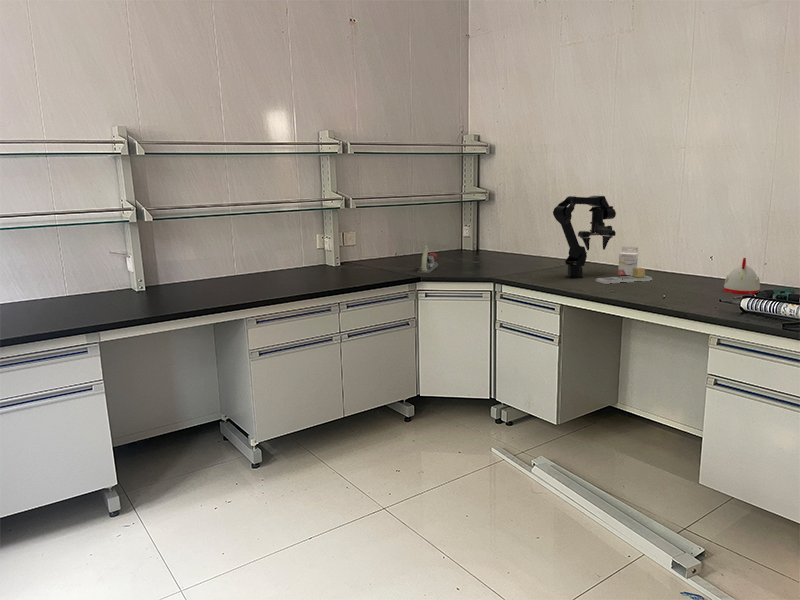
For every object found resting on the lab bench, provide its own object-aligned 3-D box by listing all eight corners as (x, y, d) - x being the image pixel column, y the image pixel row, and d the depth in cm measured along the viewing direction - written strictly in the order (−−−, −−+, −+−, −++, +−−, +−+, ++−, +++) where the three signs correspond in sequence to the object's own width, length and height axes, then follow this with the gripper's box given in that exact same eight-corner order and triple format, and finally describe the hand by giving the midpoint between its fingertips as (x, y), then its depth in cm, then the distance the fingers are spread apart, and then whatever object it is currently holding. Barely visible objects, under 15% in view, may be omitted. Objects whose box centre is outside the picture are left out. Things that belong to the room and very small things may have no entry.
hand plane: (416, 273, 331) (416, 246, 328) (427, 265, 360) (427, 240, 357) (429, 273, 329) (428, 246, 326) (439, 265, 359) (439, 240, 356)
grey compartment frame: (604, 283, 286) (604, 280, 286) (595, 281, 294) (595, 277, 294) (652, 280, 292) (652, 277, 291) (642, 278, 299) (642, 274, 299)
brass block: (637, 281, 292) (637, 269, 291) (632, 279, 296) (632, 267, 295) (644, 280, 293) (645, 268, 292) (639, 279, 297) (640, 267, 295)
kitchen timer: (721, 292, 261) (725, 259, 257) (725, 287, 272) (728, 255, 269) (758, 295, 253) (762, 261, 250) (760, 290, 264) (764, 256, 261)
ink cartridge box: (617, 275, 309) (619, 247, 306) (619, 274, 313) (621, 246, 310) (634, 276, 304) (636, 248, 301) (636, 275, 308) (638, 247, 305)
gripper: (589, 221, 298) (587, 252, 301) (622, 220, 302) (620, 250, 305) (578, 220, 308) (576, 250, 312) (610, 219, 312) (608, 248, 315)
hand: (596, 249), depth 311 cm, fingers open, 9 cm apart
